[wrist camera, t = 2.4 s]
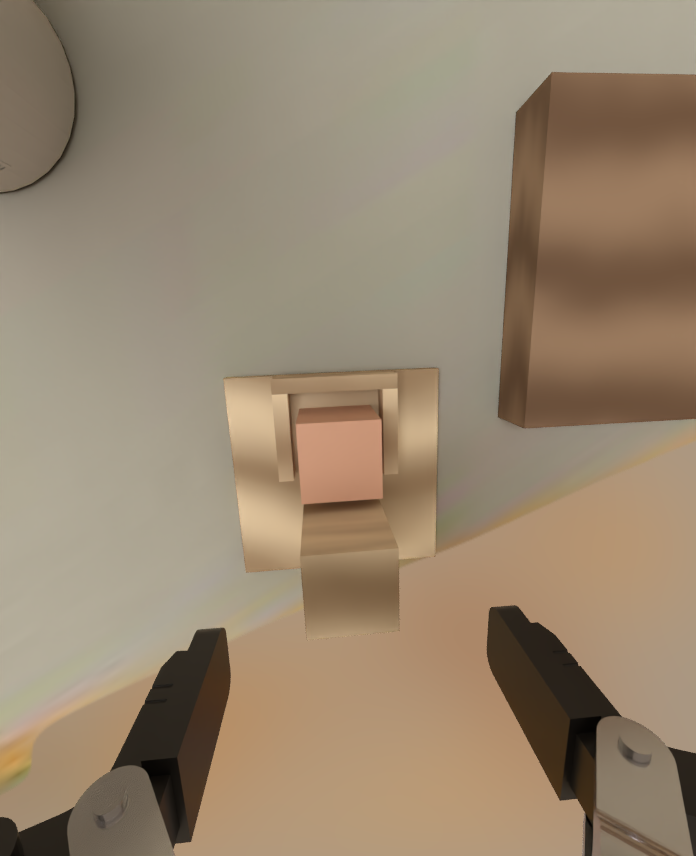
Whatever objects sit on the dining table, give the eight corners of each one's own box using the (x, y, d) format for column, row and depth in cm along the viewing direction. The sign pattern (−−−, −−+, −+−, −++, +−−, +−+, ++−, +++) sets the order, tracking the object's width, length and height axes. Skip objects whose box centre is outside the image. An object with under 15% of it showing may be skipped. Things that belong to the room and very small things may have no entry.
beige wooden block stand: (228, 376, 22) (172, 401, 13) (432, 366, 22) (502, 384, 14) (249, 561, 24) (214, 679, 16) (429, 546, 25) (487, 650, 17)
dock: (516, 112, 19) (553, 70, 16) (798, 115, 20) (881, 76, 17) (498, 416, 23) (525, 428, 20) (737, 404, 24) (797, 413, 21)
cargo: (299, 408, 21) (295, 424, 17) (369, 404, 21) (381, 419, 18) (304, 475, 22) (301, 504, 18) (371, 470, 22) (383, 498, 18)
